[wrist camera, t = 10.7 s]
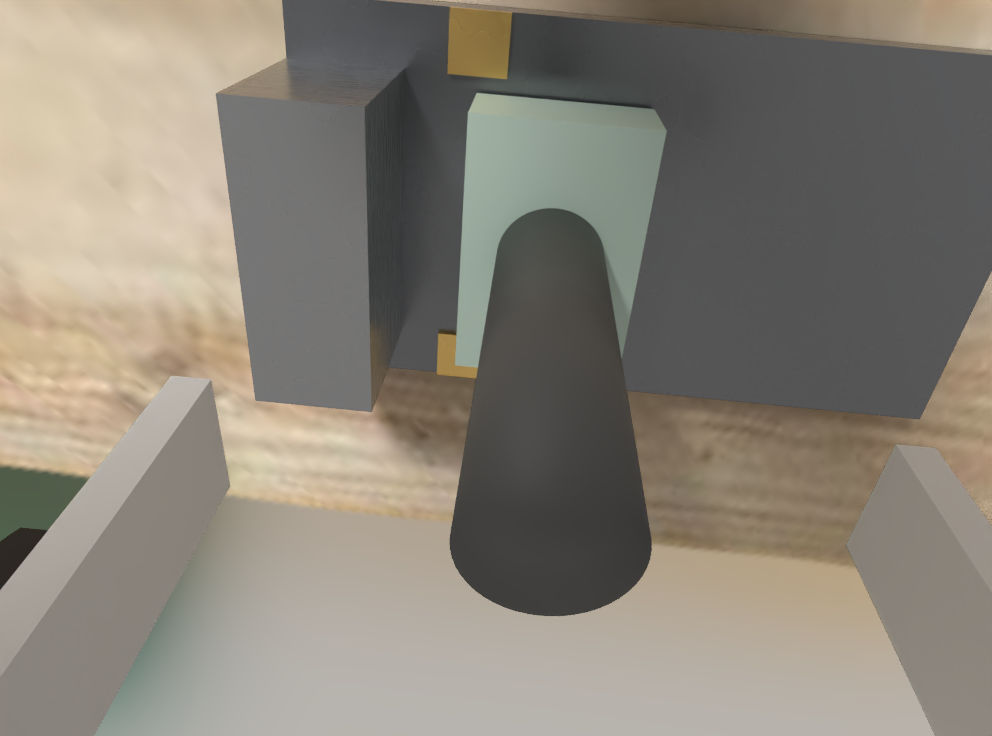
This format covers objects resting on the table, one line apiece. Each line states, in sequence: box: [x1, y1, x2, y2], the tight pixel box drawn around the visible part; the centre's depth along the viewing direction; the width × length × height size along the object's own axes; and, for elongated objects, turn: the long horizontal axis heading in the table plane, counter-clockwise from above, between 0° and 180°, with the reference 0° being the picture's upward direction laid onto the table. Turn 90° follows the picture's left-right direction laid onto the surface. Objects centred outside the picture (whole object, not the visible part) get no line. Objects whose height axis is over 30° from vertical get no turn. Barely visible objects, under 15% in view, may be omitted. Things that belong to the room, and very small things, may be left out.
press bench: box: [216, 0, 992, 419], centre depth 25 cm, size 26×14×8 cm, turn 86°
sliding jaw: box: [450, 93, 667, 616], centre depth 19 cm, size 6×9×16 cm, turn 176°
